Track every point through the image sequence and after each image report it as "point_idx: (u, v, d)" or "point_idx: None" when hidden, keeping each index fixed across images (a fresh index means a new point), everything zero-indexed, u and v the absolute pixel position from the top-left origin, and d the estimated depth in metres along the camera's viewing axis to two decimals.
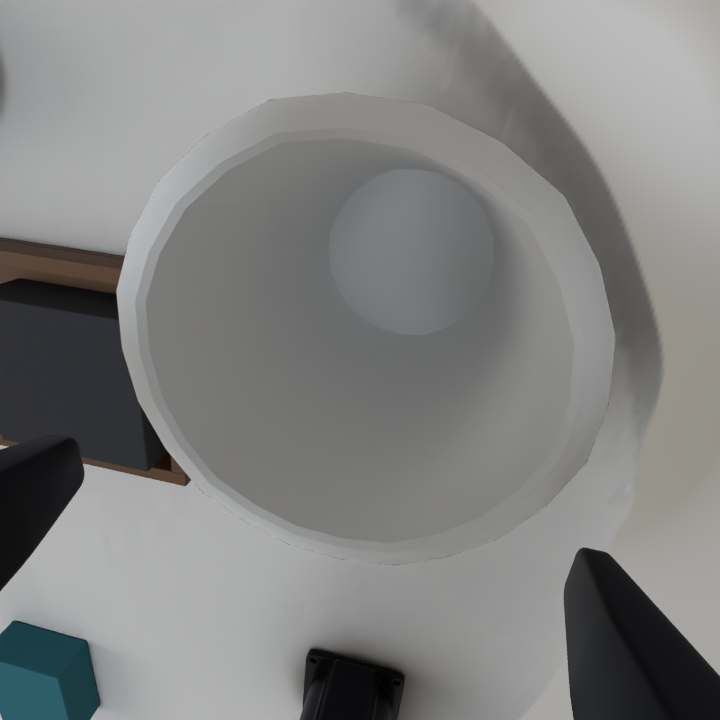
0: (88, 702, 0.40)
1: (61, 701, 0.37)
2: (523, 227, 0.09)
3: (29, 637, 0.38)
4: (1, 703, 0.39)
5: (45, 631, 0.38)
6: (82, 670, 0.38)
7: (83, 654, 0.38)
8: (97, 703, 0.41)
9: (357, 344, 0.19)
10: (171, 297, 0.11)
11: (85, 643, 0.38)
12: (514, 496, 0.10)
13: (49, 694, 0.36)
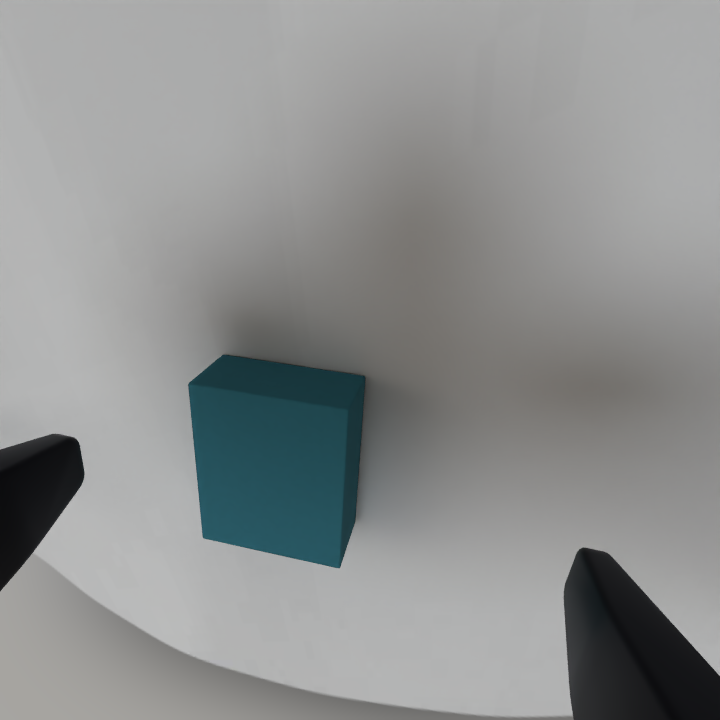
0: (352, 504, 0.22)
1: (340, 469, 0.19)
2: None
3: (263, 369, 0.21)
4: (209, 497, 0.21)
5: (286, 364, 0.21)
6: (358, 430, 0.21)
7: (361, 398, 0.21)
8: (354, 516, 0.24)
9: None
10: None
11: (364, 378, 0.21)
12: None
13: (319, 454, 0.19)
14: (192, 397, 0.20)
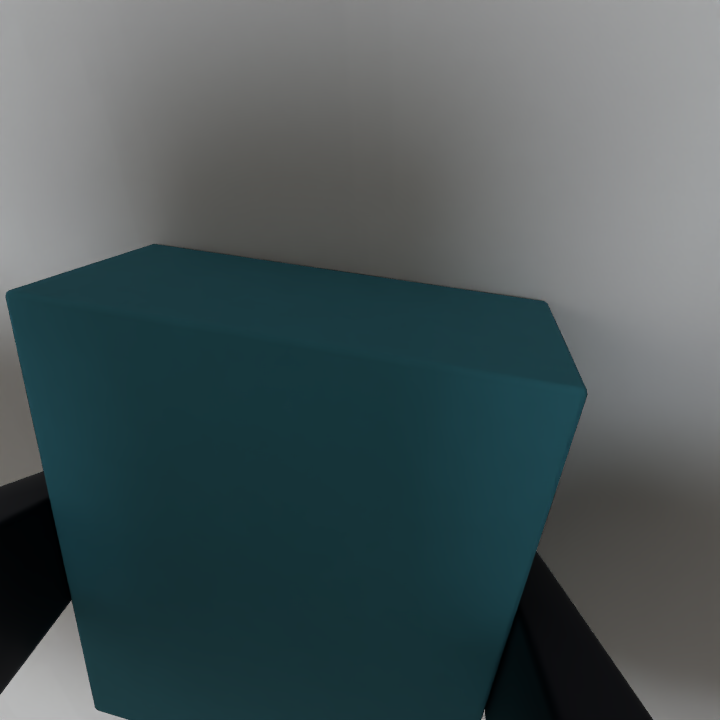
0: None
1: (506, 588, 0.06)
2: None
3: (257, 274, 0.07)
4: (102, 626, 0.08)
5: (321, 269, 0.08)
6: None
7: None
8: None
9: None
10: None
11: None
12: None
13: (441, 539, 0.06)
14: (22, 340, 0.06)
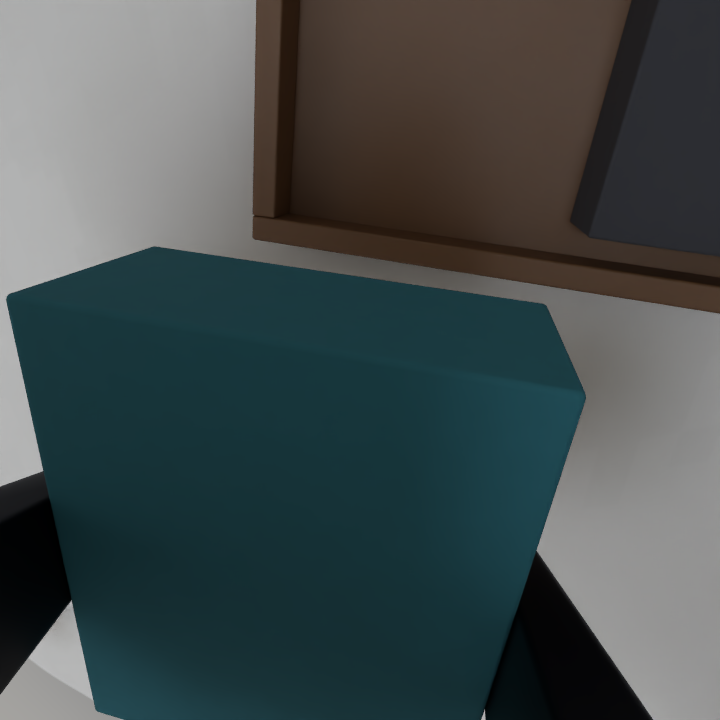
0: None
1: (504, 590, 0.06)
2: None
3: (257, 276, 0.07)
4: (102, 628, 0.08)
5: (321, 272, 0.08)
6: None
7: None
8: None
9: None
10: None
11: None
12: None
13: (440, 542, 0.06)
14: (23, 343, 0.06)
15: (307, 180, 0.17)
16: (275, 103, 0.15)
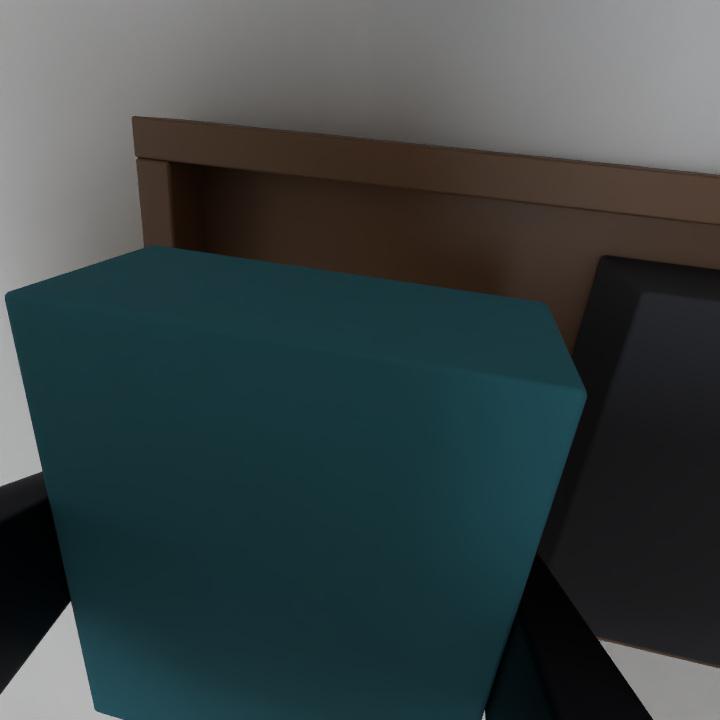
0: None
1: (505, 589, 0.06)
2: None
3: (257, 275, 0.07)
4: (101, 627, 0.08)
5: (320, 270, 0.08)
6: None
7: None
8: None
9: None
10: None
11: None
12: None
13: (442, 541, 0.06)
14: (22, 342, 0.06)
15: None
16: None
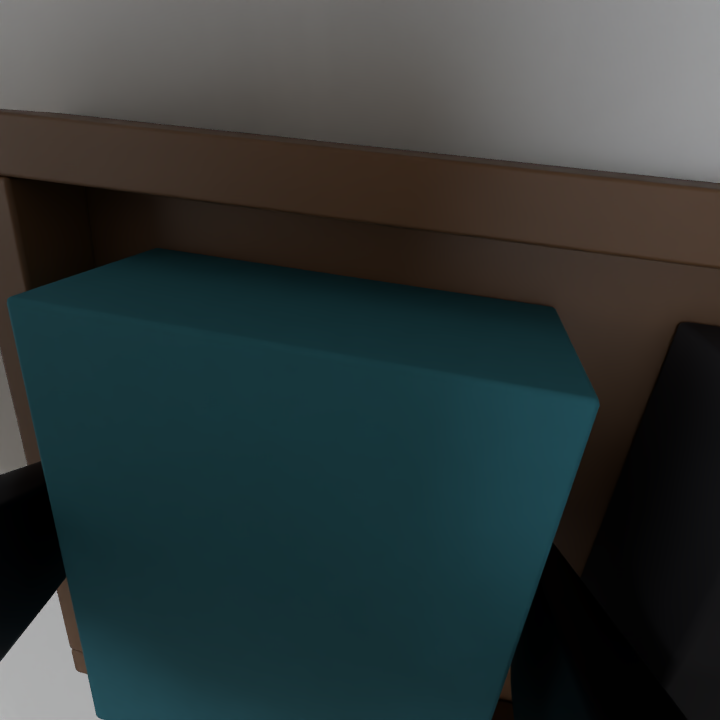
0: None
1: (514, 600, 0.06)
2: None
3: (262, 279, 0.07)
4: (103, 634, 0.08)
5: (326, 274, 0.08)
6: None
7: None
8: None
9: None
10: None
11: None
12: None
13: (449, 550, 0.06)
14: (24, 347, 0.06)
15: None
16: None
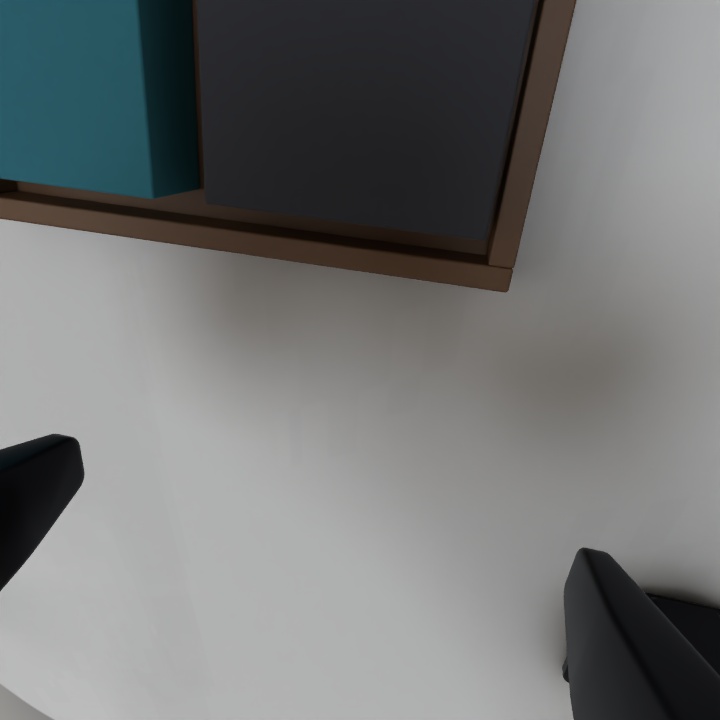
0: (183, 131, 0.16)
1: None
2: None
3: None
4: None
5: None
6: None
7: None
8: (196, 173, 0.17)
9: None
10: None
11: None
12: None
13: None
14: None
15: None
16: None
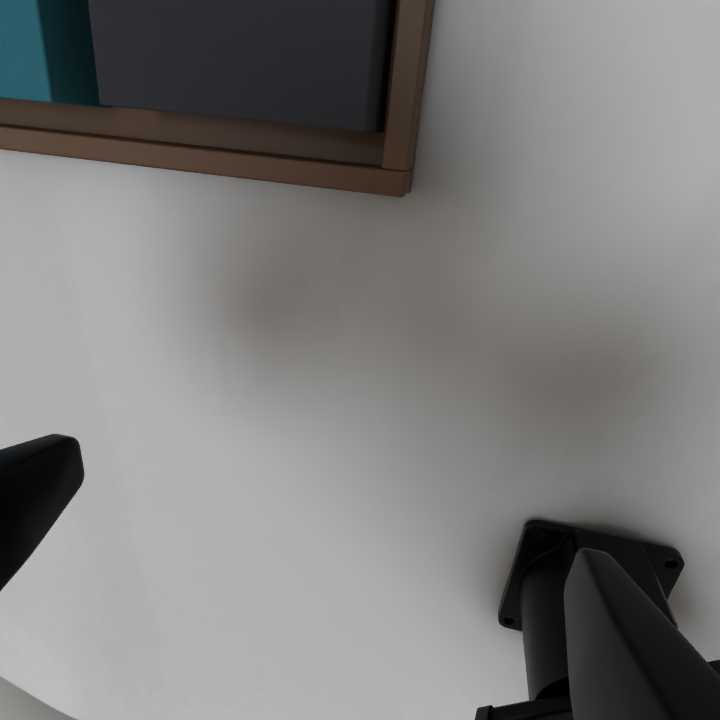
0: (87, 42, 0.16)
1: None
2: None
3: None
4: None
5: None
6: None
7: None
8: None
9: None
10: None
11: None
12: None
13: None
14: None
15: None
16: None
